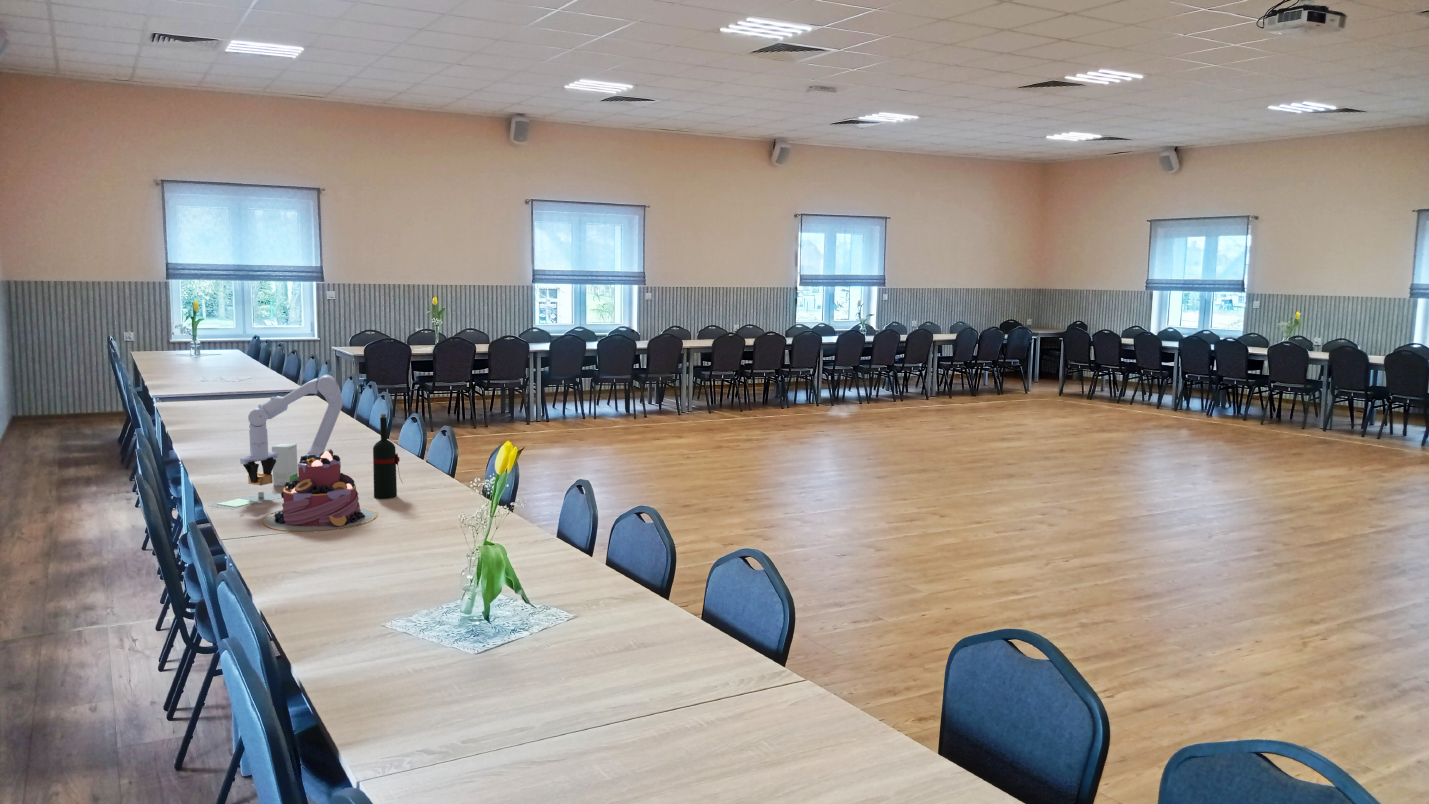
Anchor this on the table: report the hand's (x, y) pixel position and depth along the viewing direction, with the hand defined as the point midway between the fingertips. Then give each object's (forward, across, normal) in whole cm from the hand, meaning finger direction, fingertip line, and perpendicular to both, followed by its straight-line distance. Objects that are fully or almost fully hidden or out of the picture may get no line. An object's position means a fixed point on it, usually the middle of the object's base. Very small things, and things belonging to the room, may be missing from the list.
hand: (260, 481), depth 359 cm
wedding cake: (+8, +10, +38) cm, 39 cm away
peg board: (+7, +5, 0) cm, 9 cm away
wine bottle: (+7, -26, +34) cm, 43 cm away
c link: (+1, 0, 0) cm, 1 cm away
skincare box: (+7, -22, -12) cm, 26 cm away
